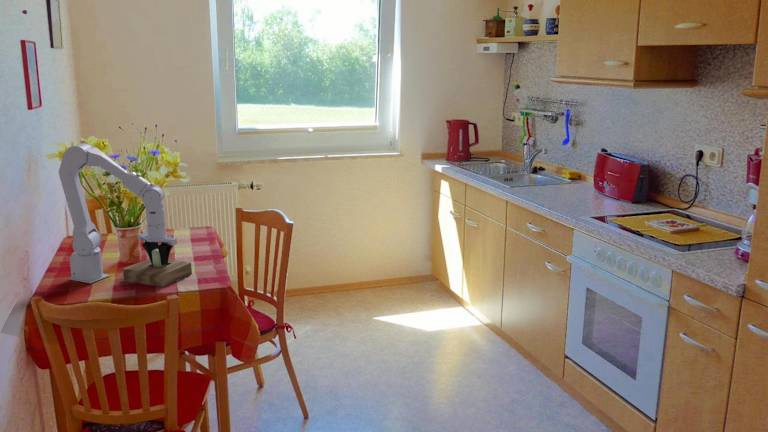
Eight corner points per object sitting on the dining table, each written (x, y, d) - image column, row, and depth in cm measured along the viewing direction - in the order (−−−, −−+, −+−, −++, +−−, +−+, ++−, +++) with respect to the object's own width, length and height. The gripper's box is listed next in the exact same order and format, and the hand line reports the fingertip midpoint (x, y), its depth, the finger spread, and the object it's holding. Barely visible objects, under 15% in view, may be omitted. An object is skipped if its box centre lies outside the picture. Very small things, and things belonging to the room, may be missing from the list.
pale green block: (150, 270, 210) (148, 251, 208) (159, 266, 213) (157, 248, 212) (160, 271, 208) (158, 252, 207) (168, 268, 212) (167, 249, 210)
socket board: (123, 280, 208) (122, 268, 207) (154, 267, 220) (153, 256, 219) (162, 287, 201) (161, 275, 200) (191, 273, 214) (191, 262, 213)
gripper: (129, 224, 206) (133, 264, 210) (164, 228, 201) (168, 269, 204) (145, 219, 213) (149, 258, 216) (180, 223, 207) (183, 263, 210)
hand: (159, 263), depth 210 cm, fingers closed on pale green block, 4 cm apart
